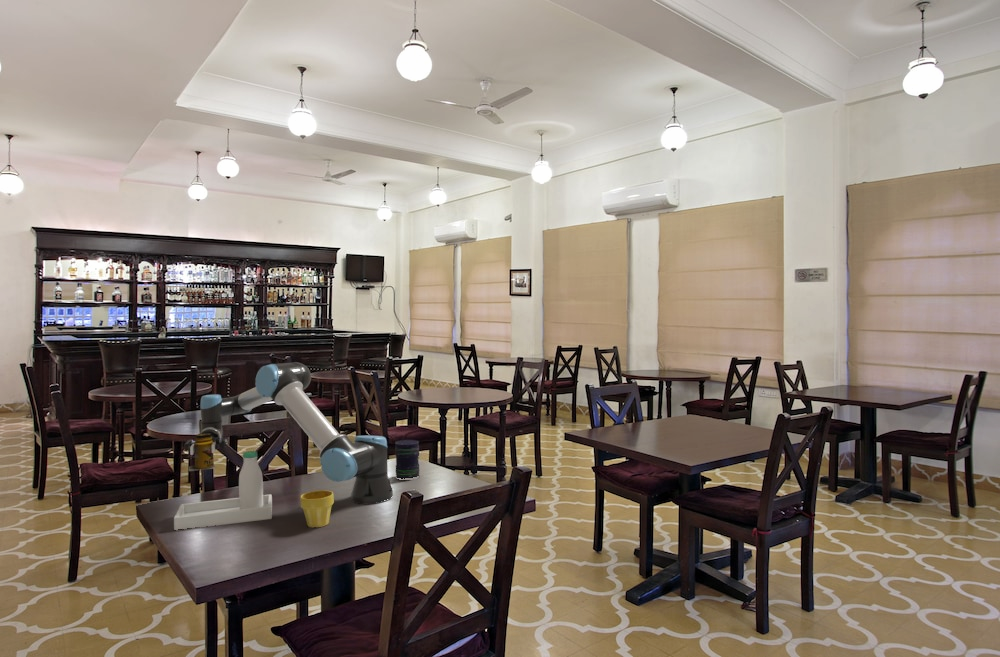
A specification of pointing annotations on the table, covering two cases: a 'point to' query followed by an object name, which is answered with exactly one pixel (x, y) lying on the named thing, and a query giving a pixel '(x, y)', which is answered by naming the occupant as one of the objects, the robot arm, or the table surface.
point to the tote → (220, 513)
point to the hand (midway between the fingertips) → (202, 450)
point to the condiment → (203, 452)
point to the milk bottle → (250, 482)
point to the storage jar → (407, 458)
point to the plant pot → (317, 507)
